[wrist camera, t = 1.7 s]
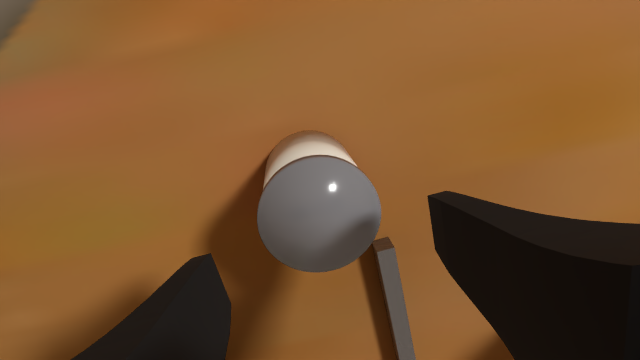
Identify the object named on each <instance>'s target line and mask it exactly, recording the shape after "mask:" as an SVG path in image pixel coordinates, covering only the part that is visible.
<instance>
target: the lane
mask: <svg viewBox="0 0 640 360" xmlns="http://www.w3.org/2000/svg"><path fill="white" fill-rule="evenodd" d="M372 245H373V250H374V254H375V259H376V264H377V269H378V273H379V278H380V283H381V287H382V292H383V297H384V301H385V306H386V311H387V315H388V320H389V325H390V329H391V334H392V339H393V343H394V348H395V353H396V357H397V360H416V359H415V354H414V348H413V343H412V338H411V332H410V327H409V322H408V317H407V311H406V306H405V301H404V295H403V290H402V285H401V279H400V274H399V269H398V264H397V258H396V253H395V248H394V246H393V244H392V242H391V241H390V239H389V237H386V238H382V239H379V240H375V241H373V242H372Z"/></svg>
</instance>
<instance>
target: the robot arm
mask: <svg viewBox="0 0 640 360" xmlns="http://www.w3.org/2000/svg"><path fill="white" fill-rule="evenodd" d="M428 202H429V209H430V216H431V224H432V231H433V238H434V245H435V250H436V252H437V253H438V255H439V257H440V259H441V260H442V262H443V264H444V265H445V267H446V269H447V270H448V272H449V273H450V275H451V276H452V277H453V279H454V280H455V281H456V282H457V284H458V285H459V286H460V287H461V289H462V290H463V291H464V292H465V294H466V295H467V296H468V297H469V299H470V300H471V301H472V302H473V304H474V305H475V306H476V307H477V308H478V310H479V311H480V312H481V313H482V315H483V316H484V317H485V318H486V320H487V321H488V322H489V323H490V324H491V326H492V327H493V328H494V330H495V331H496V332H497V334H498V335H499V336H500V338H501V339H502V341H503V342H504V344H505V345H506V347H507V348H508V350H509V351H510V353H511V354H512V356H513V357H514V359H515V360H640V224H630V223H613V222H600V221H588V220H579V219H571V218H564V217H557V216H550V215H544V214H539V213H534V212H529V211H525V210H520V209H515V208H511V207H507V206H503V205H499V204H495V203H492V202H488V201H484V200H481V199H477V198H474V197H470V196H466V195H463V194H459V193H455V192H450V191H444V192H440V193H436V194H432V195H429V196H428ZM230 322H231V302H230V300H229V297H228V295H227V292H226V290H225V287H224V285H223V283H222V280H221V278H220V275H219V273H218V270H217V268H216V265H215V263H214V260H213V258H212V255H211V253H210V254H206V255H202V256H198V257H195V258H192V259H190V260H189V261H188V262H186V263H185V264H184V265H183V266H182V267H181V268H180V269H178V270H177V271H176V272H175V273H174V274H173V275H172V276H171V277H170V278H169V279H168V280H167V281H166V282H165V283H164V284H163V285H162V286H161V287H159V288H158V289H157V290H156V291H155V292H154V293H153V294H152V295H151V296H150V297H149V298H148V299H147V300H146V301H144V302H143V303H142V304H141V305H140V306H139V307H138V308H137V309H135V310H134V311H133V312H132V313H131V314H130V315H129V316H127V317H126V318H125V319H124V320H123V321H122V322H121V323H119V324H118V325H117V326H116V327H114V328H113V329H112V330H111V331H109V332H108V333H107V334H106V335H104V336H103V337H102V338H100V339H99V340H98V341H96V342H95V343H94V344H92V345H91V346H90V347H88V348H87V349H86V350H84V351H83V352H81V353H80V354H78V355H77V356H76V357H74V358H73V359H71V360H225V356H226V351H227V345H228V340H229V334H230Z"/></svg>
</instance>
